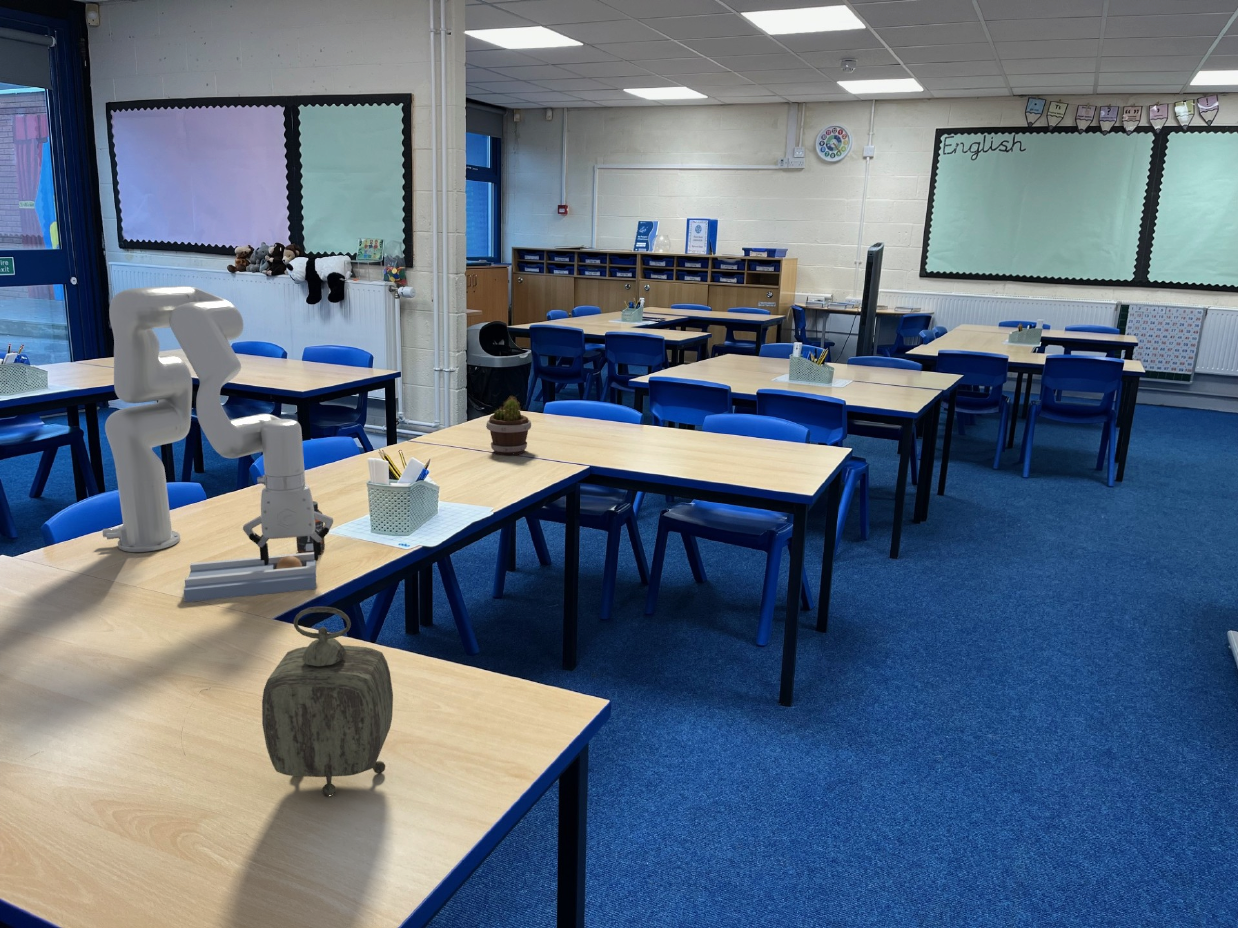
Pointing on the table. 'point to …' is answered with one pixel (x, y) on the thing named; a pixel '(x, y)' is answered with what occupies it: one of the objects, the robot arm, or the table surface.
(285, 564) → the ball
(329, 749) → the tabletop clock
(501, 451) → the flowerpot
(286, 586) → the track
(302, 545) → the supplement bottle
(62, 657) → the table surface
